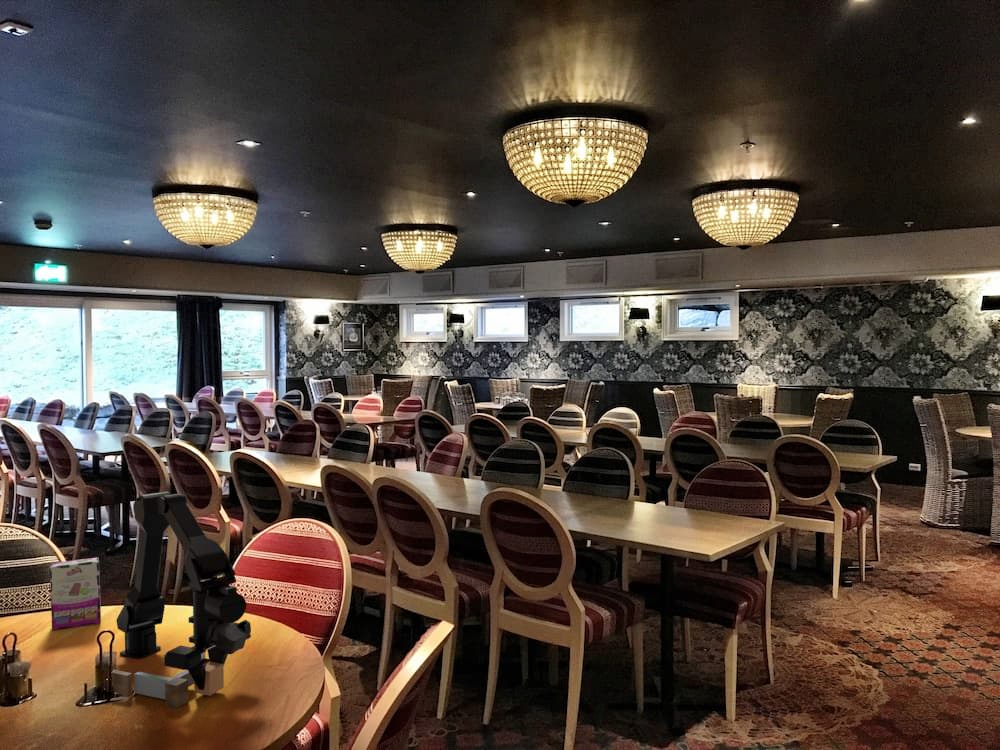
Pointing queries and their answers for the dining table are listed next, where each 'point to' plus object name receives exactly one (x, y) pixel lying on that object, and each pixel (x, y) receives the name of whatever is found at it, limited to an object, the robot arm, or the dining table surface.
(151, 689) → the grey l-shaped bracket
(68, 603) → the candy bar box
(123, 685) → the grey-brown blocks
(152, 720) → the dining table surface
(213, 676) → the tan rectangular block
